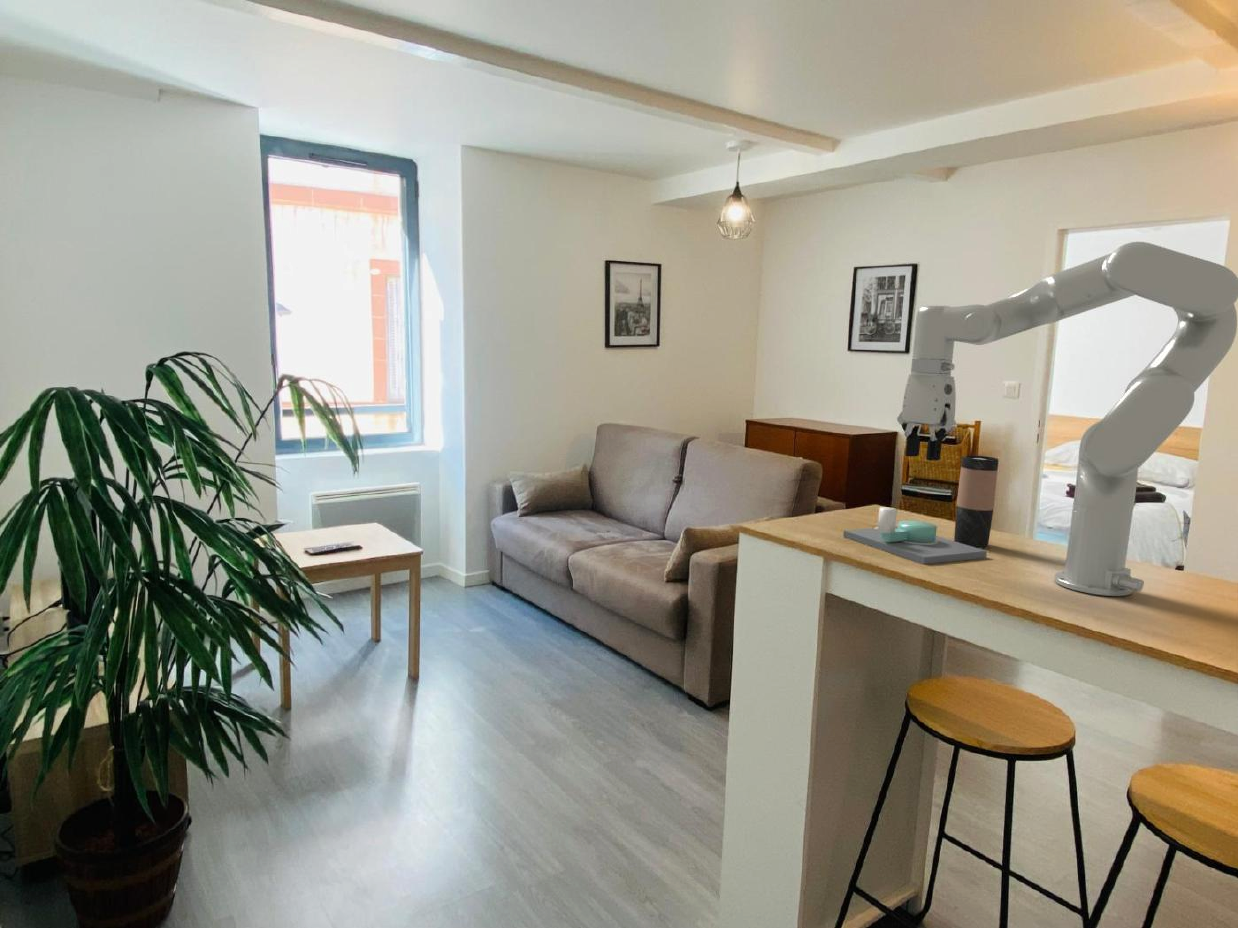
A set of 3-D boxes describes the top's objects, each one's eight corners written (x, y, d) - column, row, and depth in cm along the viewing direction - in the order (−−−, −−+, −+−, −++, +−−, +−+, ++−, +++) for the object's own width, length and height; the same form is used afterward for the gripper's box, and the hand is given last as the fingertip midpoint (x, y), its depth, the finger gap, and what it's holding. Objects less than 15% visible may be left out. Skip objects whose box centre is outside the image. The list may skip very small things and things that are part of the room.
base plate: (986, 557, 166) (986, 549, 166) (923, 564, 158) (924, 556, 158) (901, 532, 187) (902, 525, 187) (843, 536, 180) (843, 529, 179)
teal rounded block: (915, 532, 178) (918, 502, 177) (943, 540, 171) (946, 509, 170) (865, 536, 172) (868, 505, 171) (892, 545, 165) (895, 513, 164)
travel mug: (995, 549, 174) (1005, 460, 171) (960, 547, 174) (970, 459, 171) (980, 540, 181) (989, 456, 179) (947, 539, 182) (956, 454, 179)
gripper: (979, 370, 150) (969, 463, 153) (913, 367, 166) (904, 452, 168) (951, 369, 147) (941, 464, 150) (886, 366, 162) (878, 452, 165)
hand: (922, 457), depth 159 cm, fingers open, 4 cm apart
